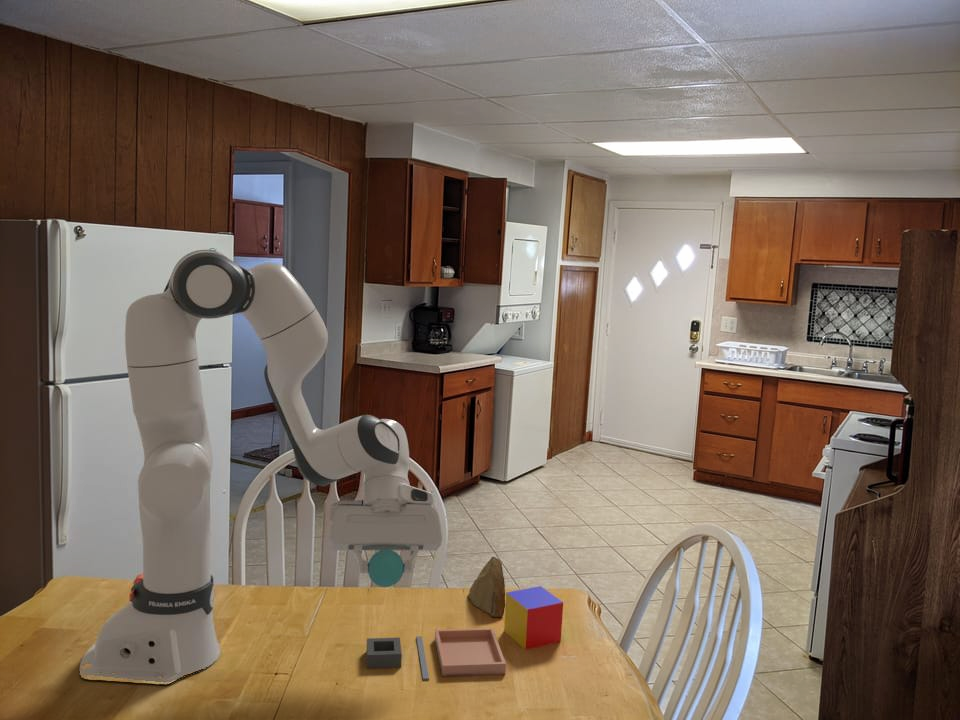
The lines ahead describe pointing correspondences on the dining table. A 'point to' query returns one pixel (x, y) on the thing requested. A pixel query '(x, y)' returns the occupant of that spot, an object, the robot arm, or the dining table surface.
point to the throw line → (422, 658)
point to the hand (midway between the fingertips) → (385, 572)
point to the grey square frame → (383, 652)
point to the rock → (489, 589)
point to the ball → (385, 568)
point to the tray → (469, 652)
